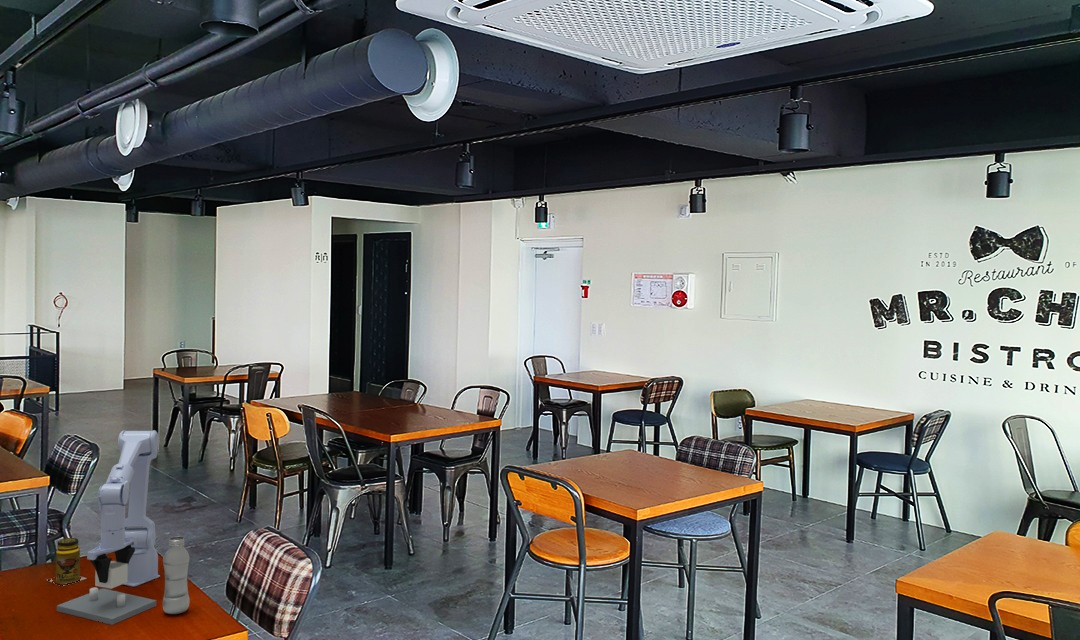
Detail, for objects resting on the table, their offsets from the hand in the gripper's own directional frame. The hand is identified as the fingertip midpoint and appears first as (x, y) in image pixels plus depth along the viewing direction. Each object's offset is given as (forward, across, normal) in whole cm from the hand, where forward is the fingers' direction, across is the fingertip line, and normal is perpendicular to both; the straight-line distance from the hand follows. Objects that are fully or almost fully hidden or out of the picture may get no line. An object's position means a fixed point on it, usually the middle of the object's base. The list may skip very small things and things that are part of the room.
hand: (112, 578), depth 219 cm
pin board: (+8, 0, -2) cm, 9 cm away
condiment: (+9, -12, -29) cm, 33 cm away
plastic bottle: (+9, -5, +16) cm, 19 cm away
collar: (+2, 0, 0) cm, 2 cm away
